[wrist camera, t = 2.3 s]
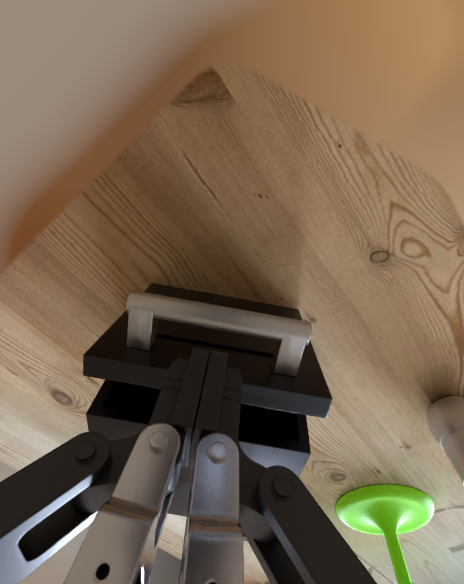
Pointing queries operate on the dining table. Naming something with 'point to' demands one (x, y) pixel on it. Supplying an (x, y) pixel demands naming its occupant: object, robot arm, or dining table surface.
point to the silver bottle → (449, 429)
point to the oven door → (214, 346)
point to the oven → (252, 436)
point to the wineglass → (387, 516)
